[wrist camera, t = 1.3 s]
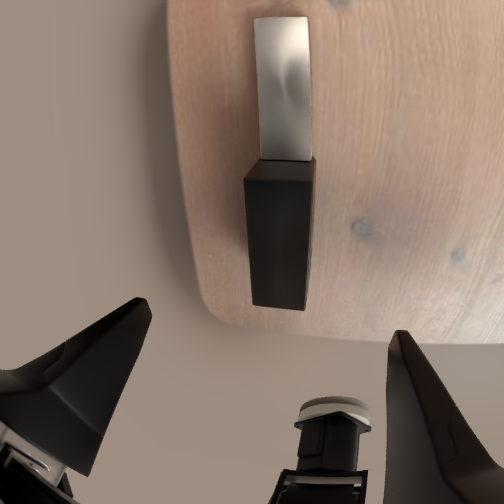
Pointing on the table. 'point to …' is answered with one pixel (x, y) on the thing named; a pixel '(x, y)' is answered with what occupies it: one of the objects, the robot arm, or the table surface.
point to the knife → (282, 166)
